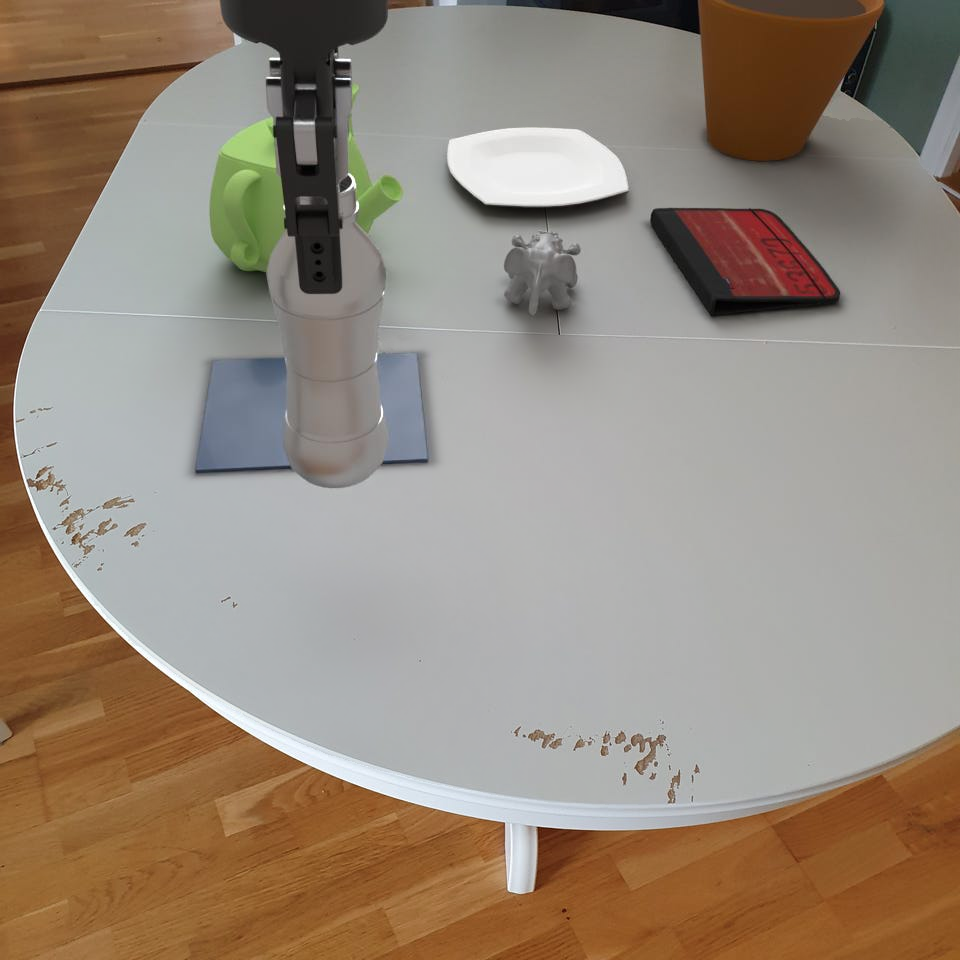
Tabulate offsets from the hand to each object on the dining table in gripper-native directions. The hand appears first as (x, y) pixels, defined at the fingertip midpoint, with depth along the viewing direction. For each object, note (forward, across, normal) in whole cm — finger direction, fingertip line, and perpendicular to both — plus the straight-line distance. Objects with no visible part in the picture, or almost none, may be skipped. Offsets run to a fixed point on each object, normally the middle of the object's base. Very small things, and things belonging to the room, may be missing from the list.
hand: (322, 258), depth 52 cm
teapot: (+29, -51, -2) cm, 59 cm away
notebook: (+28, -48, +46) cm, 72 cm away
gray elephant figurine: (+29, -39, +21) cm, 53 cm away
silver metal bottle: (+16, 0, 0) cm, 16 cm away
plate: (+29, -70, +24) cm, 80 cm away
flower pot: (+28, -82, +58) cm, 104 cm away
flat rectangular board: (+29, -23, -3) cm, 37 cm away
